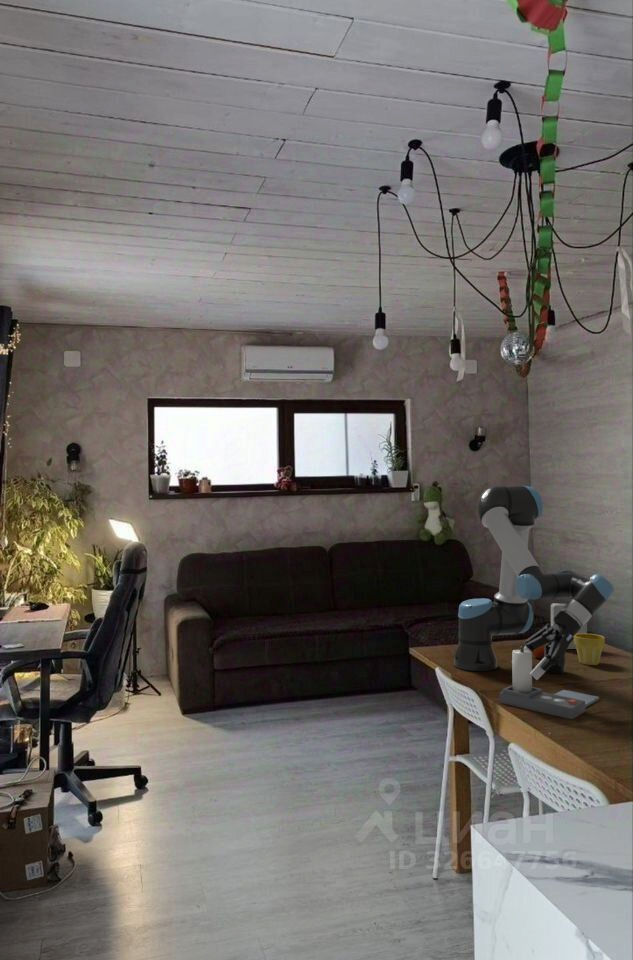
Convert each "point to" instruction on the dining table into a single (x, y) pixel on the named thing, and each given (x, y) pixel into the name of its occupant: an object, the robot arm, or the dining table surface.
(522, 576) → the robot arm
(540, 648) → the fruit
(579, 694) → the mat
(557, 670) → the supplement bottle
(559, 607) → the gas can
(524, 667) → the paper towel holder
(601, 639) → the plant pot
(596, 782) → the dining table surface
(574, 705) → the grey control panel
